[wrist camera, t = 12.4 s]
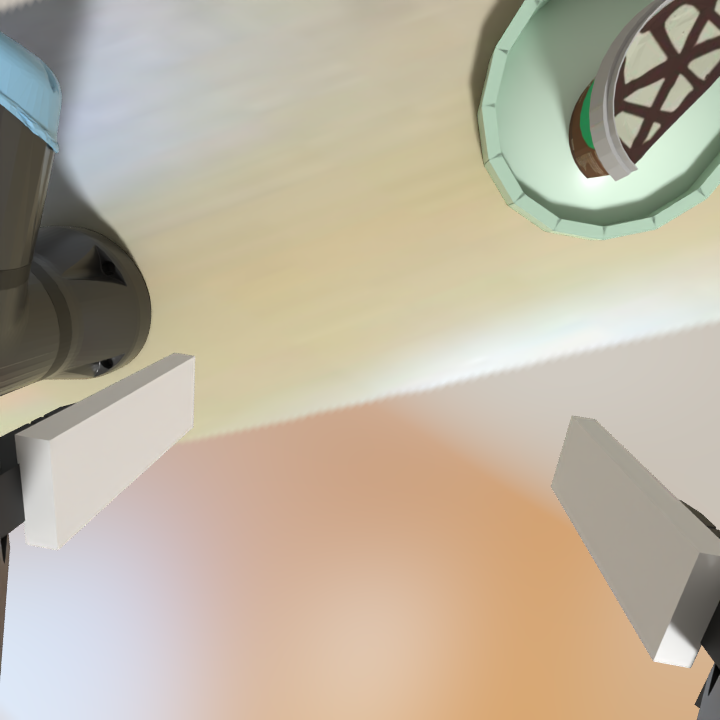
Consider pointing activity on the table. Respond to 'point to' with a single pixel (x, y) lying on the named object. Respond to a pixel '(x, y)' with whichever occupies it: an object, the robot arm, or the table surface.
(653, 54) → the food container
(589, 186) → the tray
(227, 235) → the table surface
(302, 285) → the table surface
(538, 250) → the table surface
